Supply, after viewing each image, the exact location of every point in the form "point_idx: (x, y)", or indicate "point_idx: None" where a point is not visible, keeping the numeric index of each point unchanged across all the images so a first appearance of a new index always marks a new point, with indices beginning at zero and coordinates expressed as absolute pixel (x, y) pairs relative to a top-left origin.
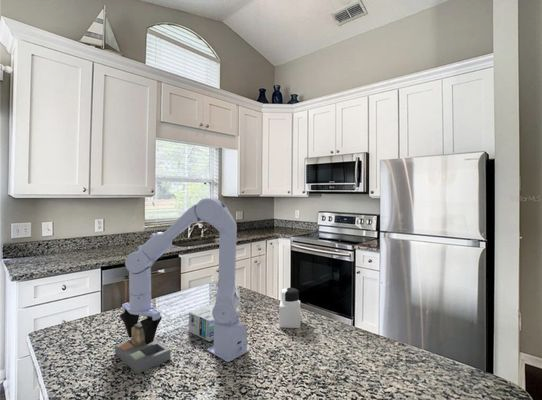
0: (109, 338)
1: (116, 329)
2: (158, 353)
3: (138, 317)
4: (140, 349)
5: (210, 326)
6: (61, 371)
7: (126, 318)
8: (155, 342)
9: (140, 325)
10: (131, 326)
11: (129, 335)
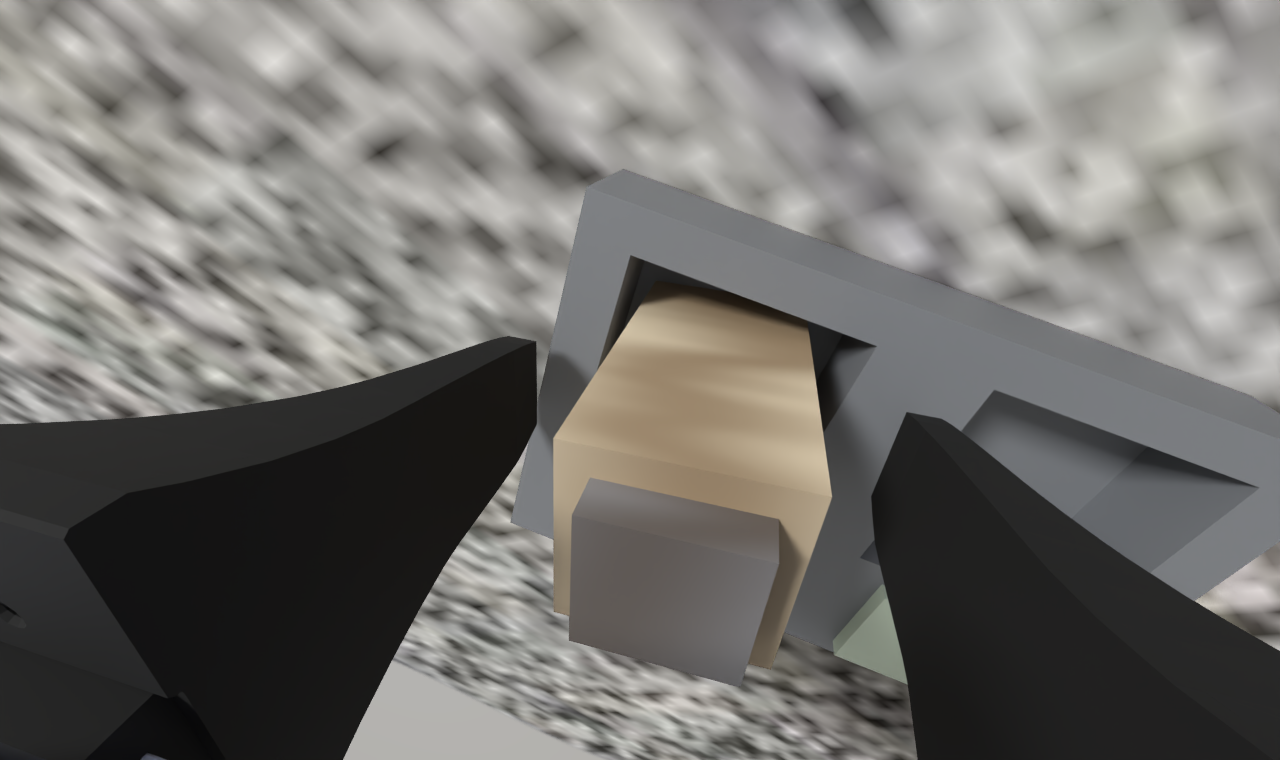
0: (214, 263)
1: (24, 59)
2: (1182, 576)
3: (339, 445)
4: (855, 546)
5: None
6: (457, 650)
7: (339, 740)
8: (947, 365)
9: (704, 645)
10: (450, 495)
11: (520, 451)
